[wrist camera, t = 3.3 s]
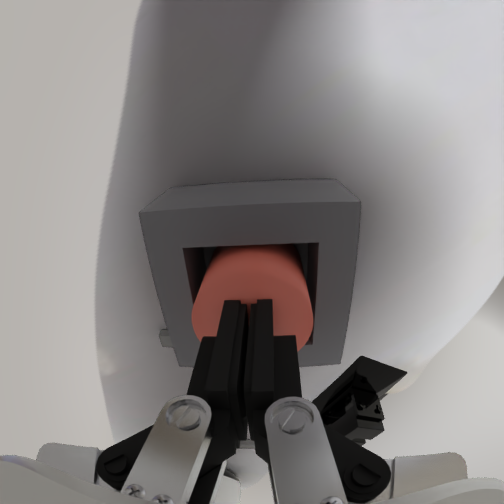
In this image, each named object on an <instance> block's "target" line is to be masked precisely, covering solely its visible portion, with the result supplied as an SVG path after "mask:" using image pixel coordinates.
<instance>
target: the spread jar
mask: <svg viewBox="0 0 504 504" xmlns="http://www.w3.org/2000/svg"><path fill="white" fill-rule="evenodd" d="M240 495H241V486H240V482H239V480H238V478H237V477H236V476H235V475H234V474H232V473H231V472H230V471H228V470H227V469H225V471H224V474H223V477H222V480H221V484H220V487H219V490H218V493H217V496H216V499H215V502H214V504H240Z"/></svg>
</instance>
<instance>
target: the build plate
mask: <svg viewBox="0 0 504 504" xmlns="http://www.w3.org/2000/svg"><path fill="white" fill-rule="evenodd" d="M406 374H407V372H406V371H403V370H400V369H397V368H394V367H391V366H389V365H386V364H383V363H380V362H378V361H375V360H372V359H370V358H367V357H364V356H360V357H359V358H358V359H357V360H356V361H355V362H354V363H353V364H352V365H351V366H350V367H349V368H348V369H347V370H346V371H345V372H344V373H343V374H342V375H341V376H339V377H338V378H337V379H336V380H335V381H334V382H333V383H332V384H331V385H330V386H329V387H328V388H327V389H326V390H324V391H323V392H322V393H321V394H320V395H319V396H318V397H317V398H316V399H314V400H313V401H312V403H313V404H314V405H315V406H316V407H317V409H318V411H319V413H320V416H321V419H322V422H323V423H324V424H325V425H327V426H328V427H330V428H332V429H333V430H335V431H336V432H338V433H340V434H341V435H343V436H345V437H346V438H348V439H350V440H351V441H353V442H355V443H357V444H358V445H360V446H362V445H363V444H365V443H366V442H365V439H369V440H371V439H373V438H374V437H376V436H377V435H379V434H380V433H381V432H383V431H384V427H383V423H382V420H384V415H383V412H382V408H381V405H380V400H382V399H383V398H384V397H385V396H386V395H388V393H386V392H387V391H388V390H389V389H390V388H392V387H393V386H394V385H395V384H396V383H397V382H398V381H399V380H401V379H402V378H403V377H404V376H405V375H406Z"/></svg>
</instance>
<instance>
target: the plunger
mask: <svg viewBox="0 0 504 504" xmlns="http://www.w3.org/2000/svg"><path fill="white" fill-rule="evenodd" d="M257 299H272V300H273V334H274V336H283V335H295V336H296V343H297V352H298V351H299V350H300V349H301V348H302V347H303V346H304V345H305V343H306V342H307V341H308V339H309V337H310V335H311V332H312V329H313V313H312V308H311V303H310V298H309V293H308V289H307V284H306V279H305V275H304V270H303V266H302V262H301V258H300V255H299V253H298V251H297V249H296V248H295V246H294V245H293V244H292V243H289V244H263V245H238V246H217V247H216V249H215V250H214V252H213V255H212V257H211V260H210V263H209V265H208V268H207V271H206V273H205V276H204V278H203V281H202V284H201V287H200V289H199V292H198V295H197V297H196V300H195V303H194V305H193V309H192V326H193V329H194V332H195V334H196V336H197V338H198V339H199V341H200V342H201V340H202V338H203V336H216V335H217V331H218V326H219V322H220V317H221V313H222V309H223V304H224V301H225V300H240V301H241V304H247V313H248V324H249V320H250V308H251V304H257Z"/></svg>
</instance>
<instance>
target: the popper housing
mask: <svg viewBox="0 0 504 504" xmlns="http://www.w3.org/2000/svg"><path fill="white" fill-rule="evenodd" d="M360 213H361V201H360V200H359V199H358V198H357V197H356V196H354V195H353V194H352V193H351V192H350V191H349V190H348V189H347V188H345V187H344V186H343V185H342V184H341V183H340V182H339V181H337V180H336V179H300V180H269V181H249V182H232V183H218V184H205V185H194V186H183V187H173V188H170V189H169V190H167V191H166V192H165V193H163V194H162V195H161V196H159V197H158V198H157V199H156V200H154V201H153V202H152V203H150V204H149V205H148V206H147V207H145V208H144V209H143V210H141V211H140V212H139V217H140V222H141V227H142V232H143V236H144V241H145V246H146V250H147V255H148V259H149V263H150V267H151V271H152V275H153V279H154V283H155V287H156V291H157V295H158V298H159V302H160V305H161V309H162V312H163V316H164V319H165V323H166V326H167V329H168V333H169V336H170V339H171V342H172V345H173V348H174V351H175V354H176V357H177V360H178V363H179V366H183V367H194V365H195V362H196V358H197V354H198V351H199V347H200V343H201V342H200V341H199V339H198V338H197V336H196V334H195V332H194V329H193V326H192V309H193V305H194V303H195V300H196V297H197V295H198V292H199V289H200V287H201V284H202V281H203V278H204V276H205V273H206V271H207V268H208V265H209V263H210V260H211V257H212V255H213V252H214V250H215V249H216V247H217V246H238V245H263V244H289V243H292V244H293V245H294V246H295V248H296V249H297V251H298V253H299V255H300V258H301V262H302V266H303V270H304V275H305V279H306V284H307V289H308V293H309V298H310V303H311V308H312V313H313V329H312V332H311V335H310V337H309V339H308V341H307V342H306V343H305V345H304V346H303V347H302V348H301V349H300V350H299V351H298V362H299V367H308V366H322V365H334V364H340V363H341V358H342V353H343V348H344V343H345V337H346V331H347V326H348V320H349V313H350V307H351V300H352V293H353V285H354V278H355V269H356V260H357V250H358V240H359V227H360Z"/></svg>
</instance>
